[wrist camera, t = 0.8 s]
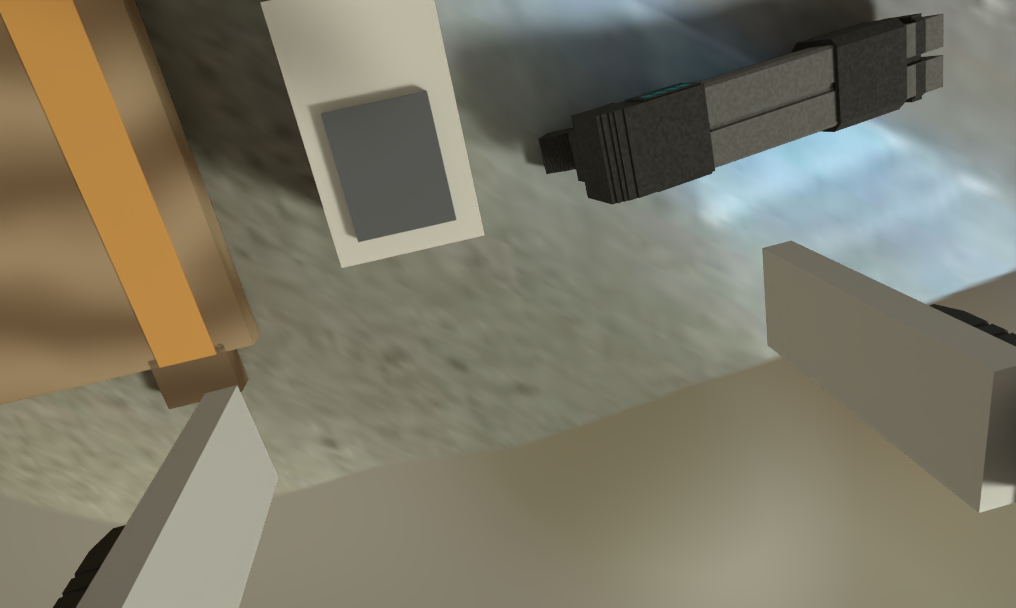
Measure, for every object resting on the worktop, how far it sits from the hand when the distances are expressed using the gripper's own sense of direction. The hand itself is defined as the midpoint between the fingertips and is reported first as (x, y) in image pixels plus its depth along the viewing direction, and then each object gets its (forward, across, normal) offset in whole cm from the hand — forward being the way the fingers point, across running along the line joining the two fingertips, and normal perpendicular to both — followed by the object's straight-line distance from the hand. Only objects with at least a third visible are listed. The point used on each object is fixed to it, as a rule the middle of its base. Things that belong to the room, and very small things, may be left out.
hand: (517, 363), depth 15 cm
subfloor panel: (+20, -19, +6) cm, 29 cm away
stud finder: (+21, -2, +5) cm, 21 cm away
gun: (+21, +16, +1) cm, 26 cm away
